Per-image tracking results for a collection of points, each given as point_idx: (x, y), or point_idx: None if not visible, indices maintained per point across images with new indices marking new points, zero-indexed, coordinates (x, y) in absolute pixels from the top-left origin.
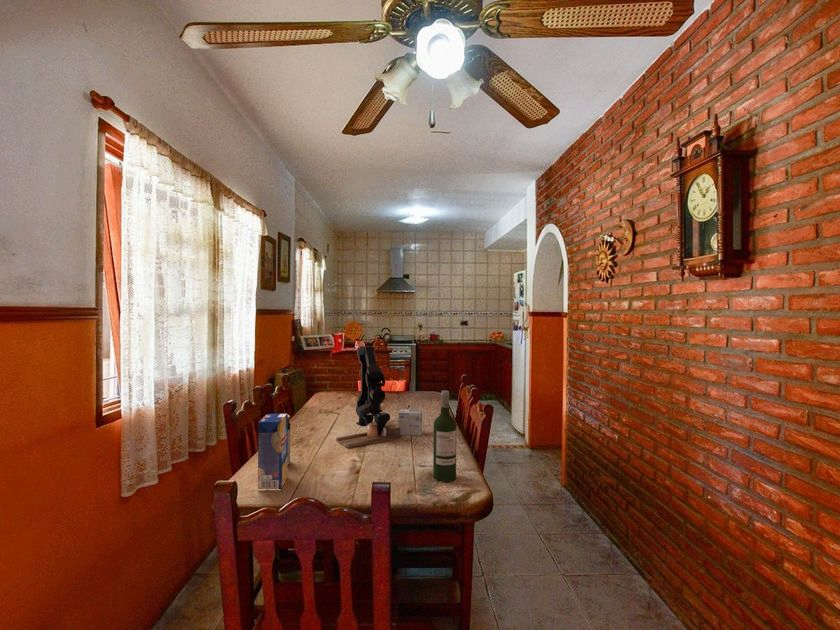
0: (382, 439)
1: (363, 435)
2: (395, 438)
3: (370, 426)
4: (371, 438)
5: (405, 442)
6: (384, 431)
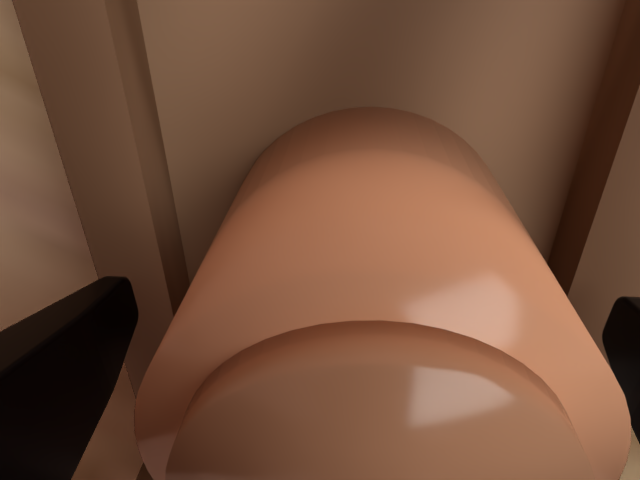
0: None
1: (604, 113)
2: None
3: (293, 332)
4: (269, 149)
5: None
6: None
